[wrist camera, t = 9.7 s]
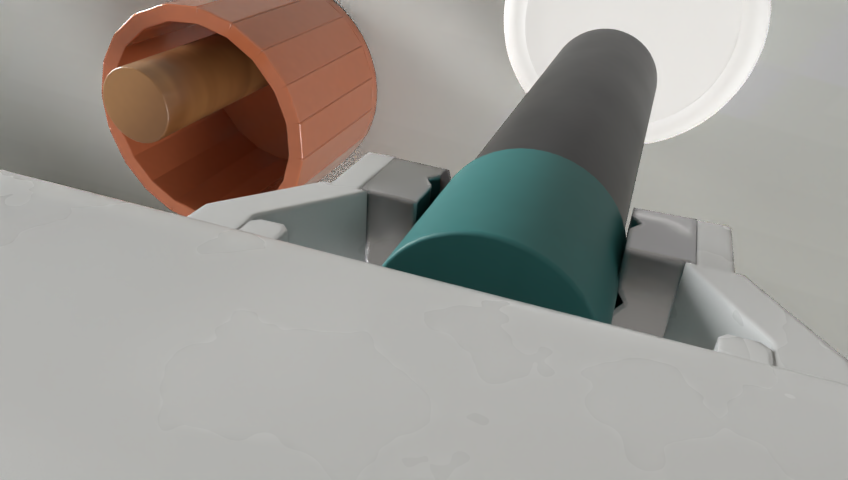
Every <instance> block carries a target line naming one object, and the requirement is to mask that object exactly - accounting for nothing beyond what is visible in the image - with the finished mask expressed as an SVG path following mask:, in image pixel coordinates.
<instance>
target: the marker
mask: <svg viewBox="0 0 848 480" xmlns="http://www.w3.org/2000/svg"><path fill="white" fill-rule="evenodd" d="M656 88H657V71H656V66H655V63H654V60H653V58H652V56H651V54H650V52H649V51H648V49H647V48H646V47H645V46H644V45H643V44H642V43H641V42H640V41H639V40H638V39H636V38H635V37H633V36H632V35H630V34H628V33H625V32H623V31H619V30H616V29H595V30H591V31H587V32H585V33H582V34H580V35H578V36H576V37H575V38H573V39H572V40H571V41H569V42H568V43H567V44H566V45H565V46H564V47H563V48H562V50H561V51H560V52H559V53H558V55H557V56H556V57H555V58H554V60H553V61H552V62H551V64H550V65H549V66H548V67H547V69H546V70H545V71H544V72H543V74H542V75H541V76H540V78H539V79H538V80H537V81H536V83H535V84H534V85H533V86H532V88H531V89H530V90H529V91H528V93H527V94H526V95H525V97H524V98H523V99H522V100H521V102H520V103H519V104H518V105H517V107H516V108H515V109H514V111H513V112H512V113H511V114H510V116H509V117H508V118H507V119H506V121H505V122H504V123H503V125H502V126H501V127H500V128H499V130H498V131H497V132H496V133H495V135H494V136H493V137H492V139H491V140H490V141H489V142H488V144H487V145H486V146H485V147H484V149H483V150H482V151H481V152H480V154H479V155H478V156H477V158H476V159H475V160H474V161H472V162H470V163H469V164H468V165H466V166H465V167H463V168H462V169H461V170H460V171H459V172H458V173H457V174H456V175H455V176H454V177H453V178H452V179H451V181H450V182H449V183H448V184H447V186H446V187H445V188H444V189H443V191H442V192H441V193H440V194H439V195H438V197H437V198H436V199H435V200H434V202H433V203H432V204H431V205H430V207H429V208H428V209H427V210H426V211H425V213H424V214H423V215H422V216H421V218H420V219H419V220H418V221H417V223H416V224H415V225H414V226H413V228H412V229H411V230H410V231H409V232H408V234H407V235H406V236H405V237H404V239H403V240H402V241H401V242H400V244H399V245H398V246H397V247H396V248H395V250H394V251H393V252H392V253H391V255H390V256H389V257H388V258H387V260H386V261H385V262H384V263H383V265H382V266H383V267H387V268H390V269H394V270H398V271H402V272H406V273H410V274H414V275H418V276H422V277H426V278H430V279H434V280H438V281H442V282H446V283H449V284H453V285H457V286H461V287H465V288H469V289H473V290H477V291H481V292H485V293H489V294H493V295H497V296H501V297H505V298H508V299H512V300H516V301H520V302H524V303H528V304H532V305H536V306H540V307H544V308H548V309H552V310H556V311H560V312H564V313H567V314H571V315H575V316H579V317H583V318H587V319H591V320H595V321H599V322H603V323H607V324H611V322H612V318H613V313H614V308H615V303H616V298H617V293H618V276H619V271H620V266H621V261H622V256H623V252H624V248H625V242H626V233H625V225H626V221H627V217H628V212H629V208H630V203H631V199H632V194H633V190H634V185H635V181H636V177H637V172H638V168H639V163H640V159H641V154H642V150H643V145H644V141H645V137H646V132H647V128H648V123H649V119H650V114H651V110H652V105H653V101H654V97H655V92H656Z"/></svg>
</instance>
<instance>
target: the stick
mask: <svg viewBox="0 0 848 480" xmlns="http://www.w3.org/2000/svg"><path fill="white" fill-rule="evenodd" d="M268 85H269V83H268V82H267V81H266V79H265V78H264V76H263V75H262V73H261V72H260V70H259V69H258V67H257V66H256V64H255V63H254V62H253V60H252V59H251V58H249V57H248V56H247V55H246V54H245V53H244V52H243V51H242V50H240V49H239V48H238V47H237V46H236V45H235V44H234V43H232V42H231V41H230V40H229V39H228V38H226V37H224V36H222V35H220V34H218V33H216V34H213V35H210V36H208V37H205V38H202V39H199V40H196V41H193V42H190V43H187V44H184V45H181V46H179V47H176V48H173V49H170V50H167V51H164V52H161V53H158V54H155V55H152V56H150V57H147V58H144V59H141V60H138V61H135V62H132V63H129V64H126V65H123V66H120V67H118V68H115V69H113V70H112V71H111V72H110V73H109V74H108V75H107V77H106V79H105V81H104V85H103V100H104V104H105V108H106V110H107V112H108V114H109V116H110V118H111V120H112V121H113V123H114V124H115V125H116V127H117V128H118V129H119V130H120V131H121V132H122V133H123V134H125V135H126V136H127V137H129V138H131V139H133V140H135V141H137V142H141V143H153V142H156V141H158V140H160V139H162V138H164V137H166V136H168V135H170V134H172V133H174V132H176V131H178V130H180V129H182V128H184V127H186V126H188V125H190V124H192V123H194V122H196V121H198V120H200V119H202V118H204V117H206V116H208V115H210V114H212V113H214V112H216V111H218V110H220V109H222V108H224V107H226V106H228V105H230V104H232V103H234V102H236V101H238V100H240V99H242V98H244V97H246V96H248V95H250V94H252V93H254V92H256V91H258V90H260V89H262V88H264V87H266V86H268Z"/></svg>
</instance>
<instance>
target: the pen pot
mask: <svg viewBox="0 0 848 480" xmlns="http://www.w3.org/2000/svg"><path fill="white" fill-rule="evenodd" d="M216 33H218V34H220V35H222V36H224V37H226V38H228V39H229V40H230V41H231V42H232V43H234V44H235V45H236V46H237V47H238V48H239V49H240V50H242V51H243V52H244V53H245V54H246V55H247V56H248V57H249V58H251V59H252V60H253V62H254V63H255V64H256V66H257V67H258V69H259V70H260V72H261V73H262V75H263V76H264V78H265V79H266V81H267V82H268V83H269V85H268V86H266V87H264V88H262V89H260V90H258V91H256V92H254V93H252V94H250V95H248V96H246V97H244V98H242V99H240V100H238V101H236V102H234V103H232V104H230V105H228V106H226V107H224V108H222V109H220V110H218V111H216V112H214V113H212V114H210V115H208V116H206V117H204V118H202V119H200V120H198V121H196V122H194V123H192V124H190V125H188V126H186V127H184V128H182V129H180V130H178V131H176V132H174V133H172V134H170V135H168V136H166V137H164V138H162V139H160V140H158V141H156V142H153V143H141V142H137V141H135V140H133V139H131V138H129V137H127V136H126V135H125V134H123V133H122V132H121V131H120V130H119V129H118V128H117V127H116V125H115V124H114V123H113V121H112V120H111V118H110V116H109V114H108V112H107V110H106V108H105V104H104V108H105V112H106V117H107V122H108V126H109V128H110V132H111V134H112V136H113V138H114V140H115V142H116V144H117V146H118V148H119V151H120V153H121V155H122V157H123V159H124V160H125V163H126V164H127V165H128V166H129V168H130V169H131V170H132V172H133V173H134V174H135V176H136V177H137V178H138V180H139V181H140V182H141V184H142V185H143V186H144V187H145V188H146V190H148V191H149V192H150V193H151V194H152V195H153V196H155V197H156V198H157V199H158V200H159V201H160V202H162V203H163V204H164V205H165V206H166V207H167V208H169V209H170V210H172V211H173V212H175V213H177V214H179V215H182V216H186V217H187V216H189V215H190V214H192V213H193V212H195V211H196V210H198V209H199V208H201V207H202V206H204V205H205V204H208V203H213V202H218V201H223V200H229V199H234V198H239V197H244V196H250V195H255V194H260V193H265V192H270V191H276V190H281V189H286V188H291V187H297V186H302V185H307V184H312V183H317V182H319V181H320V180H321V179H322V178H324V177H325V176H326V175H327V174H329V173H330V172H331V171H332V170H333V169H335V168H336V167H337V166H338V165H340V164H341V163H342V162H343V161H344V160H346V159H347V158H348V157H349V156H350V155H351V154H352V152H354V151H355V150H356V148H357V147H358V146H359V145H360V144H361V143H362V141H363V140H364V138H365V136H366V135H367V133H368V131H369V129H370V126H371V124H372V121H373V118H374V114H375V109H376V102H377V83H376V74H375V69H374V65H373V61H372V58H371V55H370V52H369V49H368V47H367V45H366V43H365V41H364V39H363V36H362V35H361V33H360V32H359V30H358V28H357V27H356V25H355V24H354V22H353V21H352V20H351V19H350V17H349V16H348V15H347V13H346V12H345V11H344V10H343V9H342V8H341V7H340V6H339V5H338V4H337V3H335V2H334V1H333V0H175V1H171V2H167V3H163V4H160V5H157V6H154V7H151V8H149V9H146V10H143V11H140V12H137V13H135V14H134V15H133V16H132V17H131V18H130V19H129V20H128V21H127V22H126V23H125V24H124V25H123V26H122V27H121V28H120V29H119V30H118V31H116V32H115V34H114V36H113V38H112V41H111V43H110V46H109V48H108V51H107V53H106V56H105V58H104V61H103V62H104V63H103V77H102V99H103V85H104V81H105V79H106V77H107V75H108V74H109V73H110V72H111V71H112V70H113V69H115V68H118V67H120V66H123V65H126V64H129V63H132V62H135V61H138V60H141V59H144V58H147V57H150V56H152V55H155V54H158V53H161V52H164V51H167V50H170V49H173V48H176V47H179V46H181V45H184V44H187V43H190V42H193V41H196V40H199V39H202V38H205V37H208V36H210V35H213V34H216ZM103 103H104V100H103Z"/></svg>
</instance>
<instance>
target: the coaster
mask: <svg viewBox="0 0 848 480" xmlns="http://www.w3.org/2000/svg"><path fill="white" fill-rule="evenodd" d="M770 16H771V0H505V9H504V36H505V42H506V48H507V53H508V56H509V59H510V63H511V66H512V68H513V70H514V73H515V75H516V77H517V79H518V81H519V83H520V85H521V86H522V88H523V90H524V91H525V93H526V94H527V93H528V91H529V90H530V89H531V88H532V86H533V85H534V84H535V83H536V81H537V80H538V79H539V78H540V76H541V75H542V74H543V72H544V71H545V70H546V69H547V67H548V66H549V65H550V64H551V62H552V61H553V60H554V58H555V57H556V56H557V55H558V53H559V52H560V51H561V50H562V48H563V47H564V46H565V45H566V44H567V43H568V42H569V41H571V40H572V39H573V38H575V37H576V36H578V35H580V34H582V33H585V32H587V31H591V30H595V29H616V30H619V31H623V32H625V33H628V34H630V35H632V36H633V37H635V38H636V39H638V40H639V41H640V42H641V43H642V44H643V45H644V46H645V47H646V48H647V49H648V51H649V52H650V54H651V56H652V58H653V60H654V63H655V66H656V71H657V88H656V92H655V97H654V101H653V105H652V110H651V114H650V119H649V123H648V128H647V132H646V137H645V141H644V144H647V143H653V142H657V141H661V140H665V139H669V138H671V137H674V136H677V135H679V134H682V133H684V132H686V131H688V130H690V129H692V128H694V127H696V126H698V125H699V124H701V123H702V122H704V121H705V120H707V119H708V118H710V117H711V116H713V115H714V114H715V113H716V112H717V111H719V110H720V109H721V108H722V107H723V106H724V105H726V104H727V102H728V101H729V100H730V99H731V98H732V97H733V96H734V95H735V94H736V93H737V92H738V91H739V89H740V88H741V87H742V85H743V84H744V83H745V81H746V80H747V79H748V77H749V76H750V74H751V72H752V70H753V69H754V67H755V65H756V63H757V61H758V59H759V57H760V54H761V52H762V50H763V47H764V44H765V41H766V37H767V33H768V30H769V24H770Z"/></svg>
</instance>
